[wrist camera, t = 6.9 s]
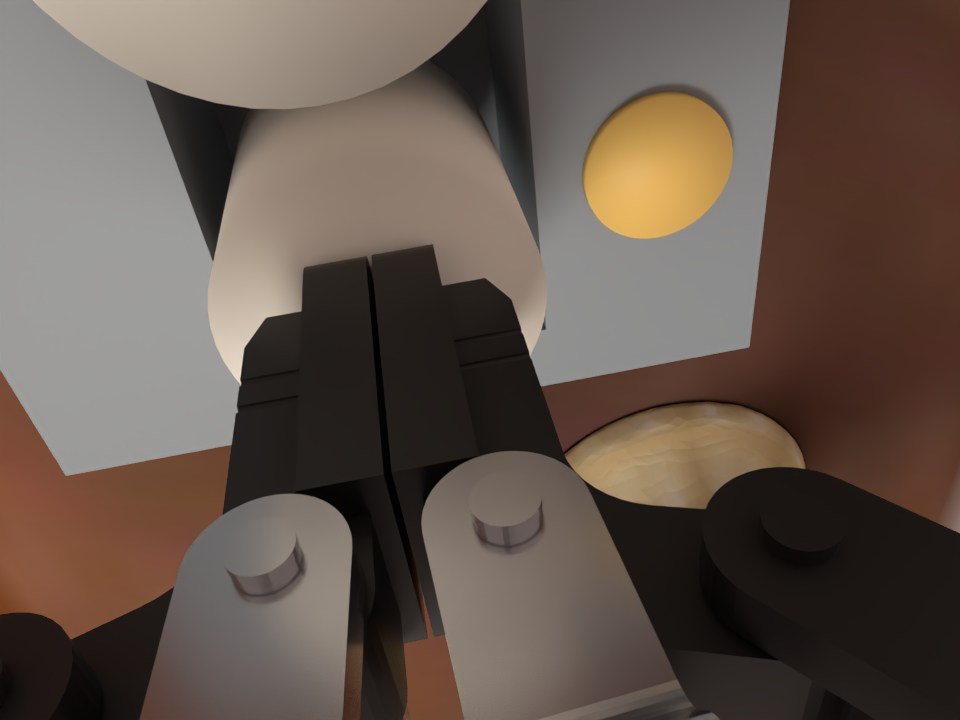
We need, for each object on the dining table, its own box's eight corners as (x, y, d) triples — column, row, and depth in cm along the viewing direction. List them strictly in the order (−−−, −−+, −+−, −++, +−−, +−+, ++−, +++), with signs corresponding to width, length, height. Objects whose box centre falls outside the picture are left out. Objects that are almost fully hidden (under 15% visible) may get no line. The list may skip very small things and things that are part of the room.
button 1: (200, 67, 12) (154, 191, 8) (477, 22, 12) (534, 126, 9) (275, 300, 14) (263, 463, 11) (504, 259, 14) (555, 408, 11)
